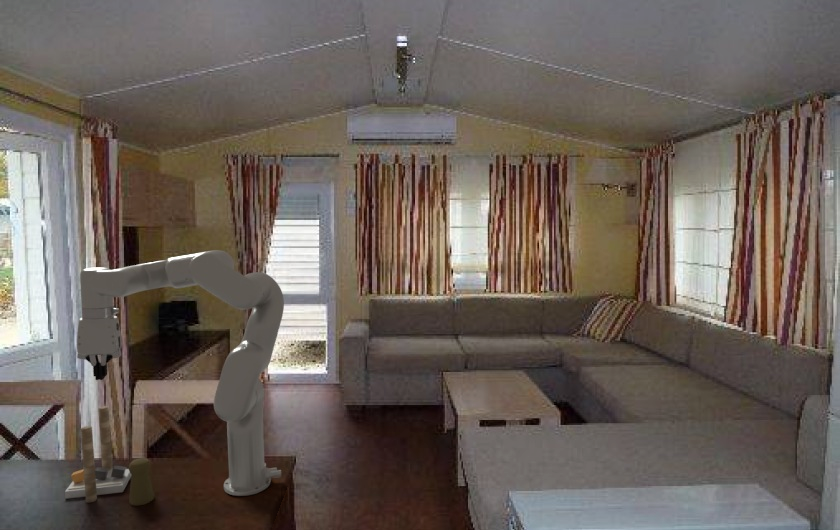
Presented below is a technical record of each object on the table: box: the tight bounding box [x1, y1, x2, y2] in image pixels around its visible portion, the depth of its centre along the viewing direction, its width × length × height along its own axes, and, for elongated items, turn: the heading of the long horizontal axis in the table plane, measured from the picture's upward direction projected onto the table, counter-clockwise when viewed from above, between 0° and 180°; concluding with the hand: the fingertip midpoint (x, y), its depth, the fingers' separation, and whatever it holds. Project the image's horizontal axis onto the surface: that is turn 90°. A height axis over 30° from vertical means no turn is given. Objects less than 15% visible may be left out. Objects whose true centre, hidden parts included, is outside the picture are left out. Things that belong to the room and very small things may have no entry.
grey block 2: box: [111, 465, 127, 478], centre depth 159 cm, size 3×2×2 cm, turn 105°
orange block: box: [70, 469, 84, 483], centre depth 157 cm, size 3×2×2 cm, turn 103°
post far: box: [97, 405, 114, 471], centre depth 165 cm, size 3×3×20 cm
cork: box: [128, 457, 155, 506], centre depth 151 cm, size 6×6×11 cm
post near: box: [80, 425, 98, 504], centre depth 150 cm, size 3×3×20 cm
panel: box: [64, 468, 132, 499], centre depth 158 cm, size 14×10×2 cm
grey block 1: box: [95, 466, 109, 480], centre depth 158 cm, size 3×2×2 cm, turn 105°
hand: (100, 378), depth 156 cm, fingers closed
